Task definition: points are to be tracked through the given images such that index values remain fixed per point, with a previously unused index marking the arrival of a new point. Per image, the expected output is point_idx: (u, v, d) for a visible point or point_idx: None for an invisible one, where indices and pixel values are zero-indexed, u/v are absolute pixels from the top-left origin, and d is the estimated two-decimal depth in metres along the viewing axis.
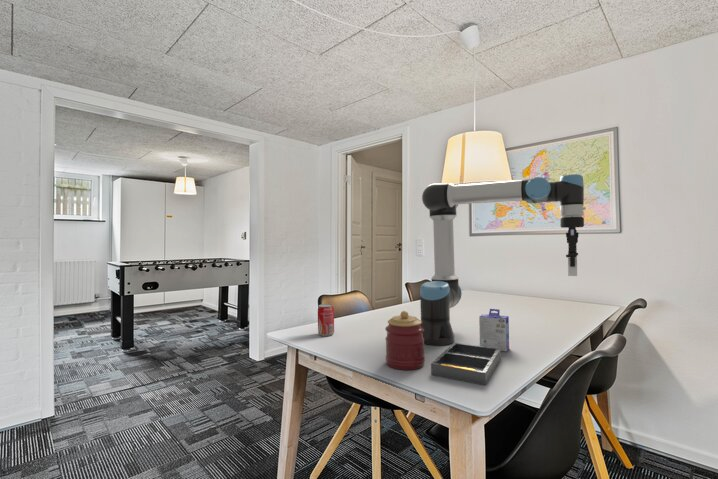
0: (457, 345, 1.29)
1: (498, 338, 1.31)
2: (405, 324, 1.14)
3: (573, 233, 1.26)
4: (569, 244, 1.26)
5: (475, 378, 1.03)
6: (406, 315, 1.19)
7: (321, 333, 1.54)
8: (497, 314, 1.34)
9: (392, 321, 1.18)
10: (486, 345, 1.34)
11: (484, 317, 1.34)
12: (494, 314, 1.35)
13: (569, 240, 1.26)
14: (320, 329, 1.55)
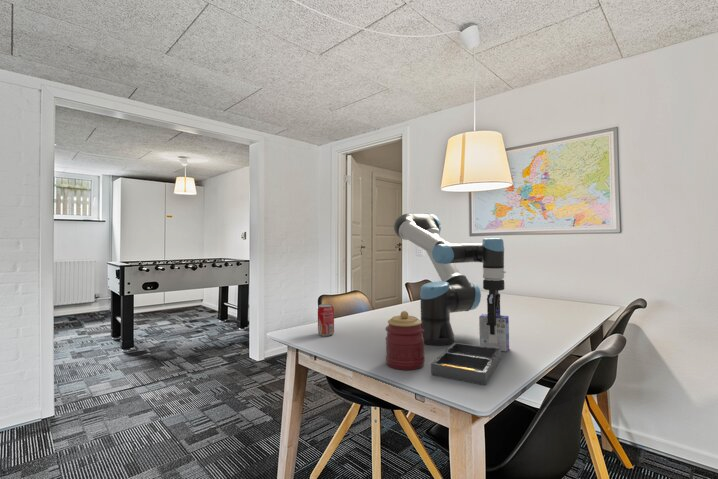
0: (457, 345, 1.29)
1: (498, 338, 1.31)
2: (405, 324, 1.14)
3: (491, 302, 1.29)
4: (488, 313, 1.30)
5: (475, 378, 1.03)
6: (406, 315, 1.19)
7: (321, 333, 1.54)
8: (497, 314, 1.34)
9: (392, 321, 1.18)
10: (486, 345, 1.34)
11: (484, 317, 1.34)
12: None
13: (488, 309, 1.30)
14: (320, 329, 1.55)
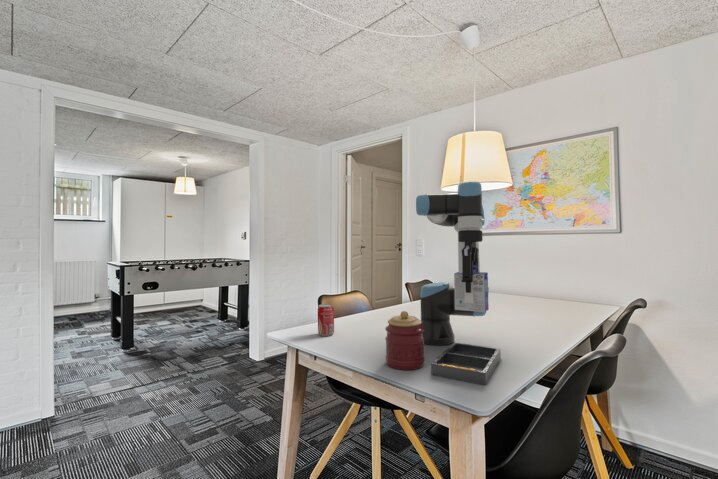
0: (457, 345, 1.29)
1: (475, 298, 1.13)
2: (405, 324, 1.14)
3: (467, 254, 1.10)
4: (463, 267, 1.11)
5: (475, 378, 1.03)
6: (406, 315, 1.19)
7: (321, 333, 1.54)
8: (474, 270, 1.16)
9: (392, 321, 1.18)
10: (462, 306, 1.15)
11: (460, 273, 1.15)
12: None
13: (463, 262, 1.11)
14: (320, 329, 1.55)
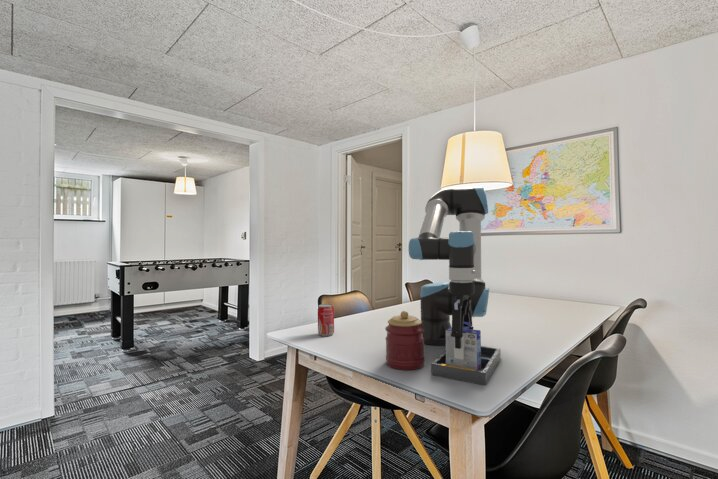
0: None
1: (467, 358, 1.08)
2: (405, 324, 1.14)
3: (457, 308, 1.05)
4: (452, 322, 1.05)
5: (475, 378, 1.03)
6: (406, 315, 1.19)
7: (321, 333, 1.54)
8: (467, 328, 1.11)
9: (392, 321, 1.18)
10: None
11: (451, 331, 1.10)
12: (463, 328, 1.11)
13: (453, 316, 1.05)
14: (320, 329, 1.55)
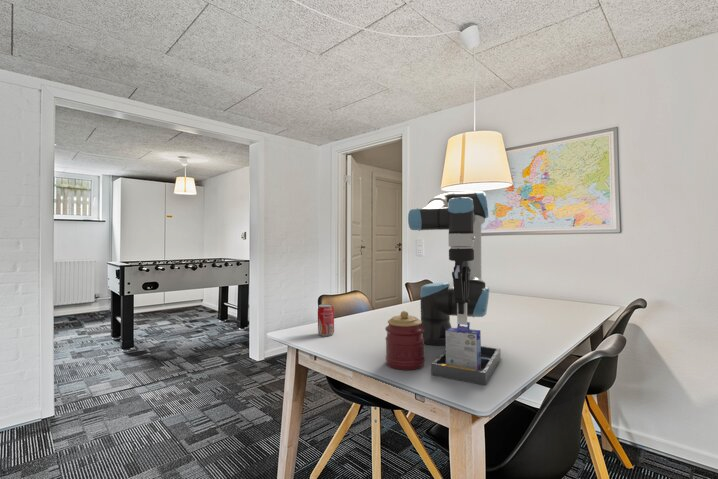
0: None
1: (467, 358, 1.08)
2: (405, 324, 1.14)
3: (457, 277, 1.06)
4: (454, 290, 1.07)
5: (475, 378, 1.03)
6: (406, 315, 1.19)
7: (321, 333, 1.54)
8: (467, 328, 1.11)
9: (392, 321, 1.18)
10: None
11: (451, 331, 1.10)
12: (463, 328, 1.11)
13: (454, 285, 1.07)
14: (320, 329, 1.55)
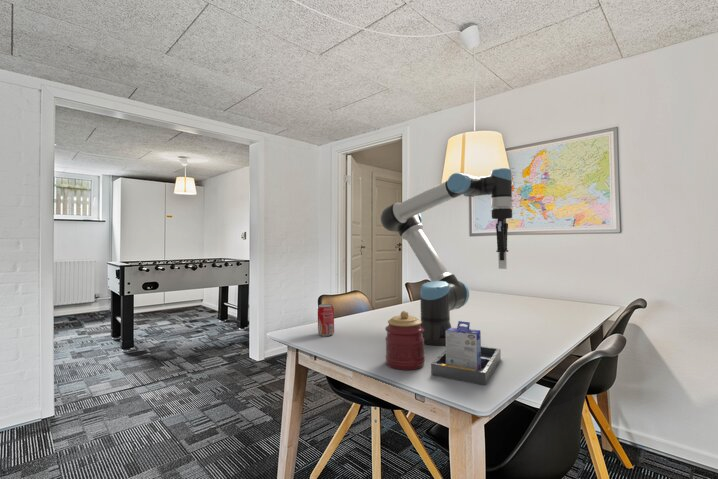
0: None
1: (467, 358, 1.08)
2: (405, 324, 1.14)
3: (500, 230, 1.35)
4: (497, 240, 1.37)
5: (475, 378, 1.03)
6: (406, 315, 1.19)
7: (321, 333, 1.54)
8: (467, 328, 1.11)
9: (392, 321, 1.18)
10: None
11: (451, 331, 1.10)
12: (463, 328, 1.11)
13: (497, 236, 1.37)
14: (320, 329, 1.55)
